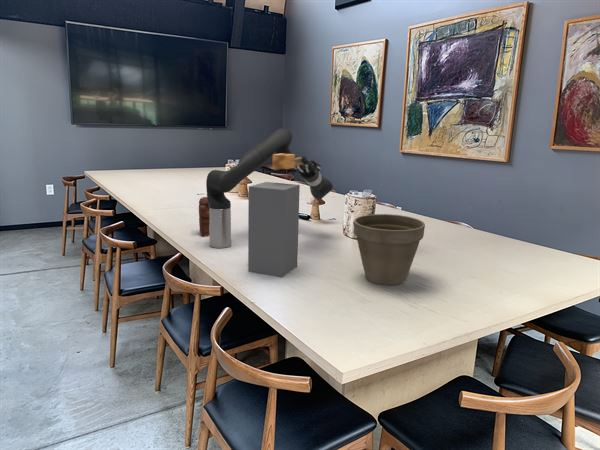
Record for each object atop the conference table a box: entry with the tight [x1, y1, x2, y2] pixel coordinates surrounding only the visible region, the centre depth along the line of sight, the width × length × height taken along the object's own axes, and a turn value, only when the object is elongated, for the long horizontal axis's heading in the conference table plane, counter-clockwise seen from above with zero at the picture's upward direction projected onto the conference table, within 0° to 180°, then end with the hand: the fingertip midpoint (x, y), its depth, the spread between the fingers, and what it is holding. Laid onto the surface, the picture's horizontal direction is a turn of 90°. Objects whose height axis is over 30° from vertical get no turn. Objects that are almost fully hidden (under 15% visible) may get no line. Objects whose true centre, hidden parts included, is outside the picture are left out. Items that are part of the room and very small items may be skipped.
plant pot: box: [353, 213, 426, 286], centre depth 168 cm, size 25×25×22 cm
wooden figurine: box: [198, 196, 210, 237], centre depth 223 cm, size 12×6×18 cm, turn 16°
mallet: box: [272, 153, 304, 170], centre depth 182 cm, size 6×22×5 cm, turn 158°
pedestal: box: [247, 181, 301, 278], centre depth 174 cm, size 14×14×32 cm
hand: (298, 157), depth 188 cm, fingers closed on mallet, 3 cm apart
